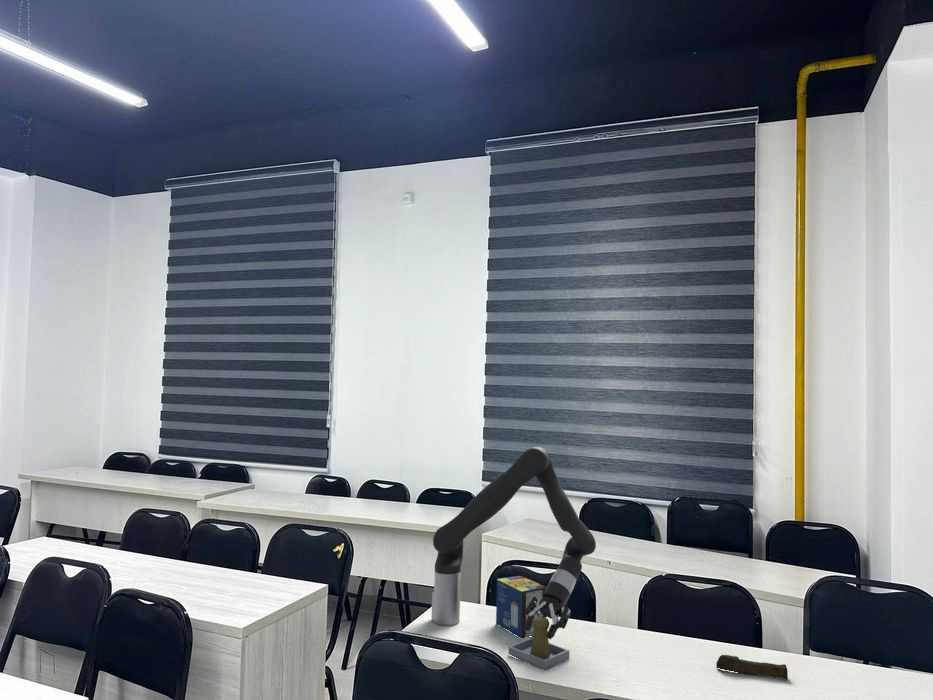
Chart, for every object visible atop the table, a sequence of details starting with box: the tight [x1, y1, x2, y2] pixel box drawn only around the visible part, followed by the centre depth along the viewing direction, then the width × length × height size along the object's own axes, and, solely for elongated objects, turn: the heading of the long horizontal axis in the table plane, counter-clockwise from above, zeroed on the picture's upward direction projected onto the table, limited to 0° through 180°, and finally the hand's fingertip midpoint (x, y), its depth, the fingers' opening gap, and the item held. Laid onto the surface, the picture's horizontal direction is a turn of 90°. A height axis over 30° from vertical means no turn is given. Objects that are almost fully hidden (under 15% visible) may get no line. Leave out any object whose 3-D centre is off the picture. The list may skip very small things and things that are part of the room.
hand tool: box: [716, 654, 789, 681], centre depth 182 cm, size 19×4×5 cm, turn 72°
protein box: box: [495, 575, 547, 639], centre depth 213 cm, size 10×15×16 cm
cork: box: [530, 617, 550, 659], centre depth 190 cm, size 6×6×11 cm
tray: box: [508, 636, 570, 671], centre depth 189 cm, size 14×12×3 cm
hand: (537, 633), depth 189 cm, fingers open, 8 cm apart
